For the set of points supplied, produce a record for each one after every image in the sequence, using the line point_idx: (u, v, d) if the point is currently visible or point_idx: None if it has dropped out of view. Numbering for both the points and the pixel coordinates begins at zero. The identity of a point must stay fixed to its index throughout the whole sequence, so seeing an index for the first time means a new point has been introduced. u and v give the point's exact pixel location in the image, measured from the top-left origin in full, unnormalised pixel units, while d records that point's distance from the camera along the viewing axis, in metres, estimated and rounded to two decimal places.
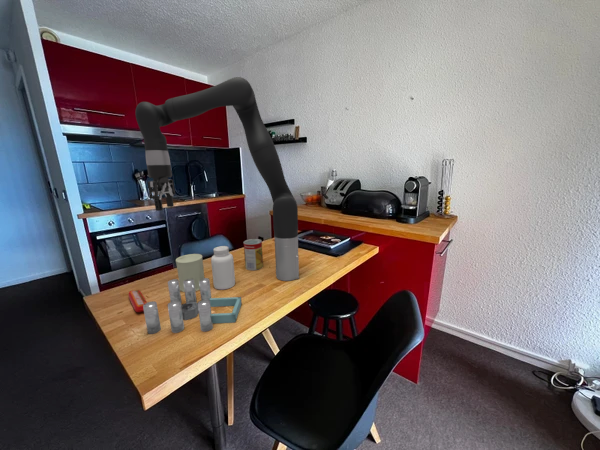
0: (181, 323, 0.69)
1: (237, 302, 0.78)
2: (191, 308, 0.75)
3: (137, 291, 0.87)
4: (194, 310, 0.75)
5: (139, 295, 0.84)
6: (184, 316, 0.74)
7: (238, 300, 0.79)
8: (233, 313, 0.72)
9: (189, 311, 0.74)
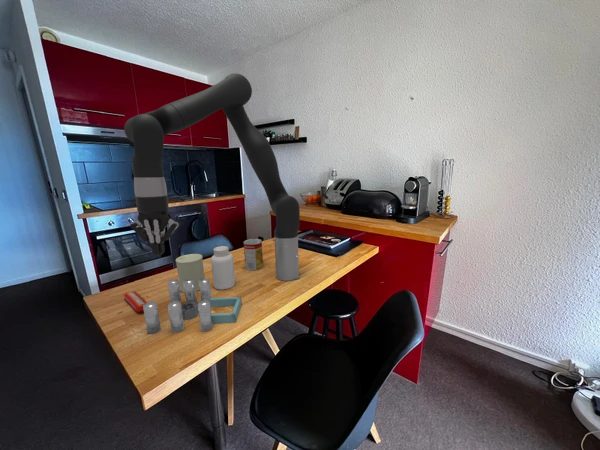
0: (181, 323, 0.69)
1: (237, 302, 0.78)
2: (191, 308, 0.75)
3: (133, 292, 0.86)
4: (194, 310, 0.75)
5: (137, 295, 0.84)
6: (184, 316, 0.74)
7: (238, 300, 0.79)
8: (233, 313, 0.72)
9: (189, 311, 0.74)
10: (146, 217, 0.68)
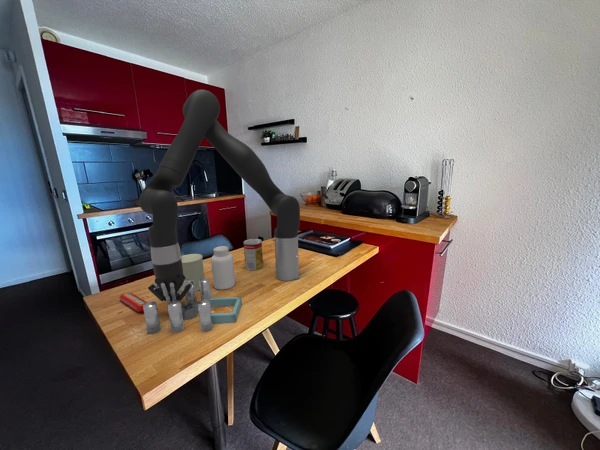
0: (181, 323, 0.69)
1: (237, 302, 0.78)
2: (191, 308, 0.75)
3: (130, 293, 0.85)
4: (194, 310, 0.75)
5: (134, 296, 0.83)
6: (184, 316, 0.74)
7: (238, 300, 0.79)
8: (233, 313, 0.72)
9: (189, 311, 0.74)
10: (163, 280, 0.73)
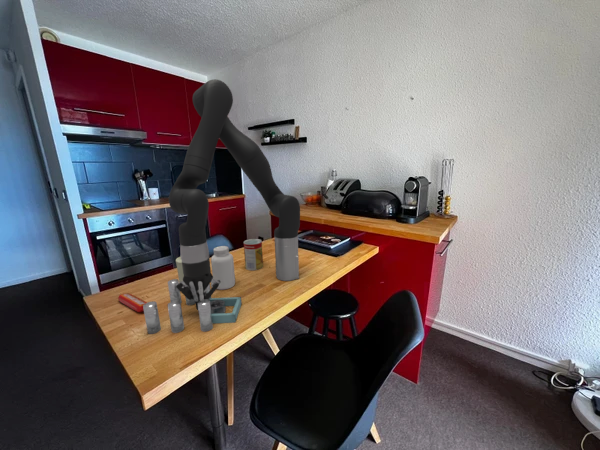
0: (181, 323, 0.69)
1: (237, 302, 0.78)
2: (219, 306, 0.75)
3: (128, 294, 0.85)
4: (222, 308, 0.75)
5: (133, 296, 0.83)
6: None
7: (238, 300, 0.79)
8: (233, 313, 0.72)
9: (218, 309, 0.74)
10: (191, 279, 0.73)
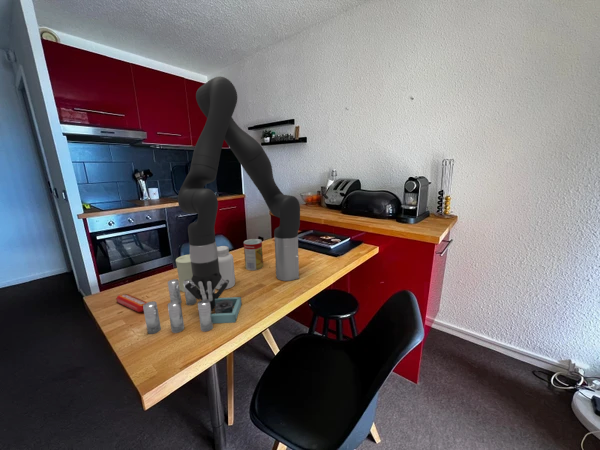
0: (181, 323, 0.69)
1: (237, 302, 0.78)
2: (228, 306, 0.75)
3: (127, 294, 0.85)
4: (231, 308, 0.75)
5: (132, 297, 0.83)
6: None
7: (238, 300, 0.79)
8: (233, 313, 0.72)
9: (226, 309, 0.75)
10: (200, 278, 0.73)
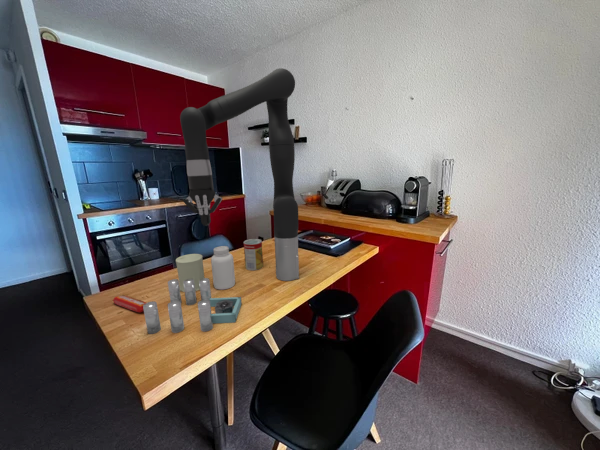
0: (181, 323, 0.69)
1: (237, 302, 0.78)
2: (228, 306, 0.75)
3: (124, 296, 0.84)
4: (231, 308, 0.75)
5: (130, 298, 0.82)
6: None
7: (238, 300, 0.79)
8: (233, 313, 0.72)
9: (226, 309, 0.75)
10: (196, 193, 0.83)
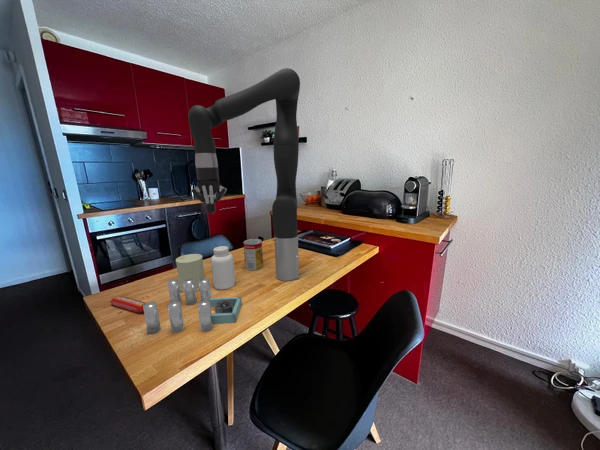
0: (181, 323, 0.69)
1: (237, 302, 0.78)
2: (228, 306, 0.75)
3: (122, 297, 0.83)
4: (231, 308, 0.75)
5: (129, 298, 0.82)
6: None
7: (238, 300, 0.79)
8: (233, 313, 0.72)
9: (226, 309, 0.75)
10: (203, 184, 0.91)
